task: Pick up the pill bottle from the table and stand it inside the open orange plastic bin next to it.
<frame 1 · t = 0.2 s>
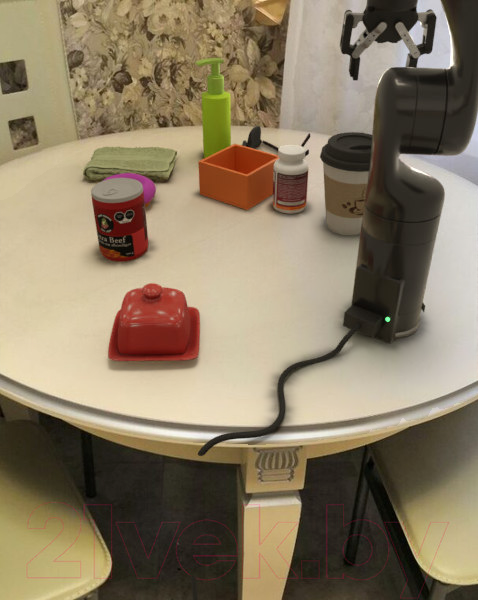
hand: (381, 78, 101), 22 cm above the table, tool pointing down, fingers open, 8 cm apart
bin: (240, 191, 118), on the table
pill bottle: (289, 208, 113), on the table
washcloth: (132, 171, 127), on the table
sunglasses: (277, 161, 131), on the table
soap dispenser: (215, 156, 133), on the table
canned food: (124, 251, 100), on the table
coffee cup: (347, 226, 107), on the table
donut: (129, 203, 115), on the table
butter dish: (156, 341, 81), on the table
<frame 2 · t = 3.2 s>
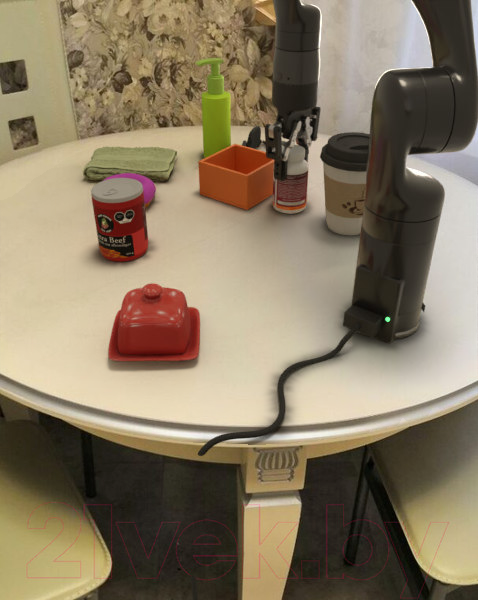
hand: (290, 172, 109), 7 cm above the table, tool pointing down, fingers closed on pill bottle, 6 cm apart
pill bottle: (289, 208, 113), on the table, touching gripper
everything else where it was.
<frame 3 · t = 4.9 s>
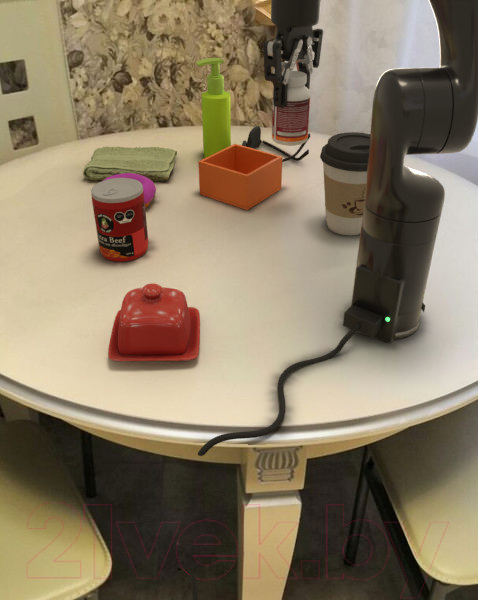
hand: (291, 101, 102), 19 cm above the table, tool pointing down, fingers closed on pill bottle, 6 cm apart
pill bottle: (289, 141, 106), point 12 cm above the table, touching gripper
everything else where it was.
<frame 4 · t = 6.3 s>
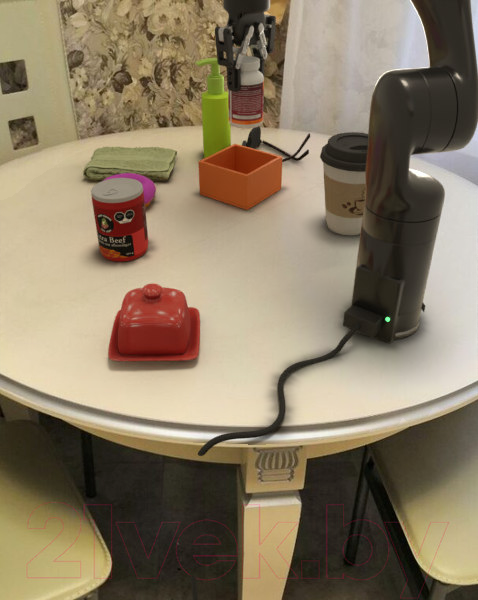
hand: (246, 85, 106), 20 cm above the table, tool pointing down, fingers closed on pill bottle, 6 cm apart
pill bottle: (245, 124, 110), point 13 cm above the table, touching gripper
everything else where it was.
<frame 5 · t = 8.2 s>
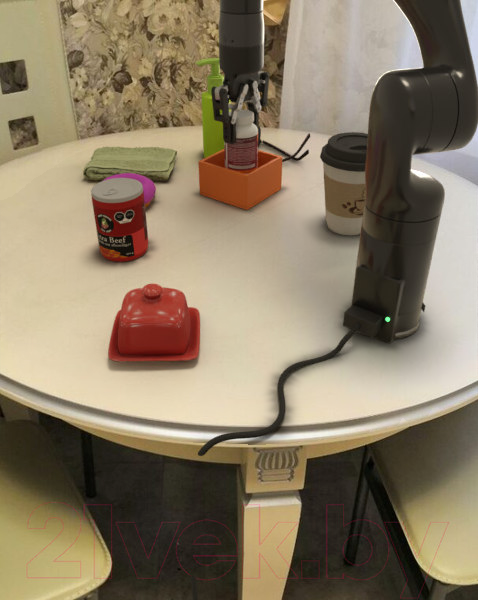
hand: (241, 137, 112), 11 cm above the table, tool pointing down, fingers closed on pill bottle, 6 cm apart
pill bottle: (241, 172, 116), point 4 cm above the table, touching gripper
everything else where it was.
when the fingers open (7 cm above the table, at t = 9.7 s): pill bottle stays where it is, resting on bin.
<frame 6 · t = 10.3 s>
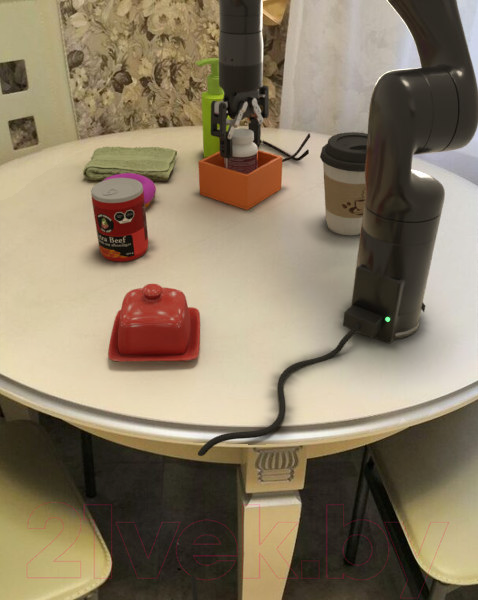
hand: (240, 150, 113), 8 cm above the table, tool pointing down, fingers open, 8 cm apart
pill bottle: (241, 189, 118), resting on bin
everything else where it was.
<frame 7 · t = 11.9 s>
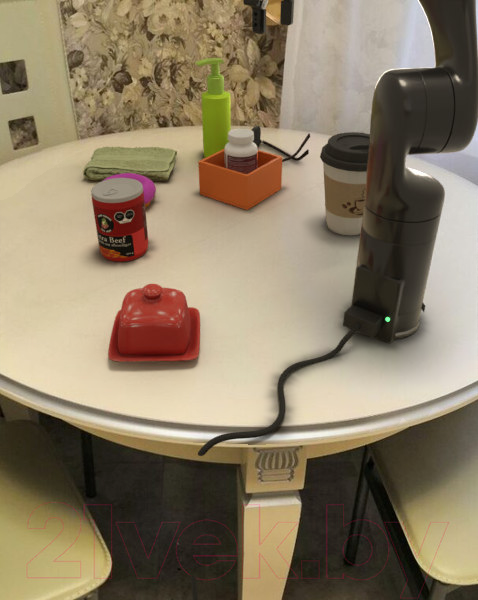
hand: (273, 28, 105), 28 cm above the table, tool pointing down, fingers open, 8 cm apart
nothing on the table moved.
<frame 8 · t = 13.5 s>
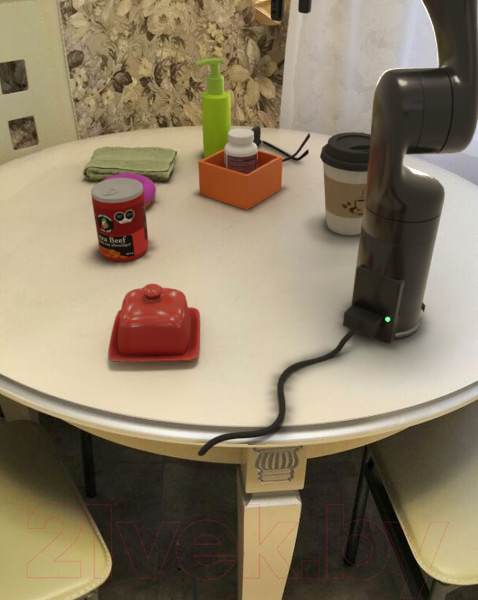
hand: (291, 16, 105), 30 cm above the table, tool pointing down, fingers open, 8 cm apart
nothing on the table moved.
at the end: pill bottle inside the target area in the bin (0.1 cm from its centre), point 0.4 cm above the bin's base; pill bottle tilted 0°; the gripper is holding nothing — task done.
